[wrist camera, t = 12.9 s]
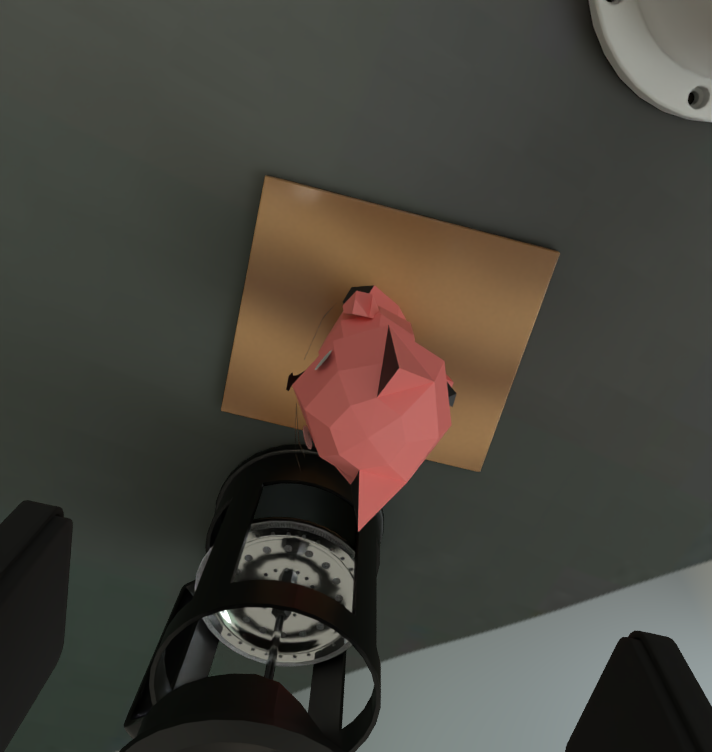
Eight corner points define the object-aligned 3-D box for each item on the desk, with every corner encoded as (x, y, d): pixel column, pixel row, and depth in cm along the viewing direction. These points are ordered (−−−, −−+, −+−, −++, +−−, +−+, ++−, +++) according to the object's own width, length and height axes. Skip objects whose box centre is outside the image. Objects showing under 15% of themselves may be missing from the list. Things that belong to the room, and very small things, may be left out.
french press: (343, 410, 33) (282, 923, 12) (423, 545, 36) (491, 1154, 15) (158, 499, 36) (-174, 1064, 14) (247, 619, 38) (83, 1240, 17)
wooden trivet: (266, 174, 29) (264, 175, 29) (557, 250, 30) (560, 252, 29) (222, 407, 33) (220, 411, 33) (478, 467, 34) (480, 472, 34)
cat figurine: (321, 253, 30) (288, 326, 19) (463, 283, 30) (515, 373, 19) (295, 389, 32) (252, 526, 21) (427, 416, 33) (453, 565, 21)
